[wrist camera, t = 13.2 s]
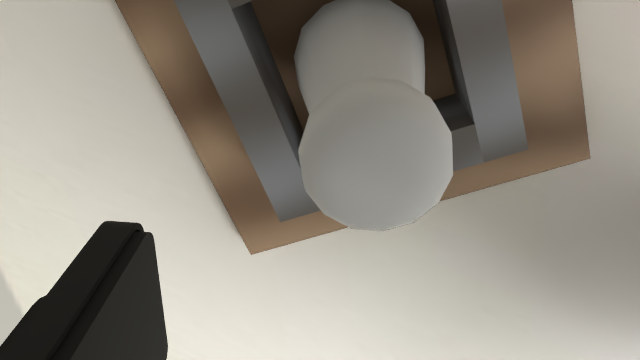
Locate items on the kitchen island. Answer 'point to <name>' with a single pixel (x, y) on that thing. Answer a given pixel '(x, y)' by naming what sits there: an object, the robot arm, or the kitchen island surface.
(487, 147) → the holder
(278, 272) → the kitchen island surface
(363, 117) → the salt shaker
